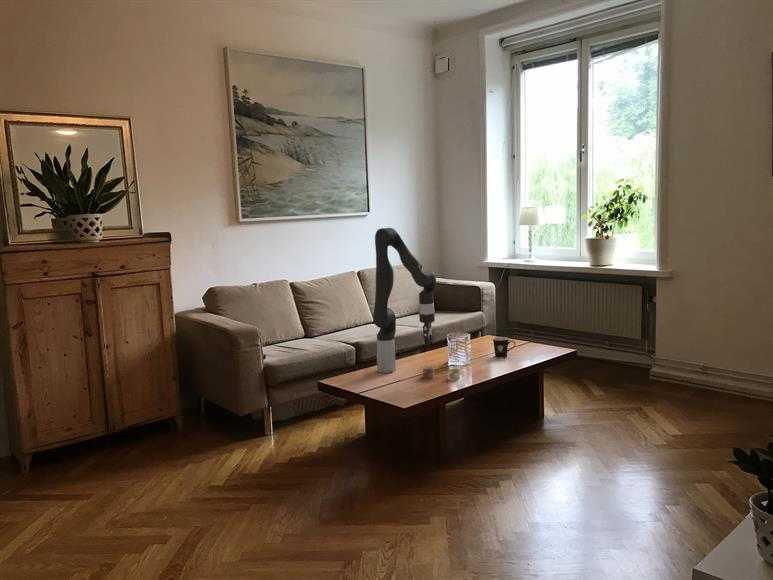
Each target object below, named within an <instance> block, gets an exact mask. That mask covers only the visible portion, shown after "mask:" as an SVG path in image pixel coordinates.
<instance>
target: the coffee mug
mask: <svg viewBox="0 0 773 580" xmlns="http://www.w3.org/2000/svg"><path fill="white" fill-rule="evenodd" d="M509 338H510V337H509ZM509 338H508V337H506V336H496V337H493V338H492V340H493V341H492V342H493V348H494V356H495V357H496V358H507V356H508V353H509V351H512V350H513V349H514V348H515V346H516V342H515V341H514V340H510V341H509ZM510 343H513V344H514V346H512V347H511V348H509V349H508V347H509V344H510Z"/></svg>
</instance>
